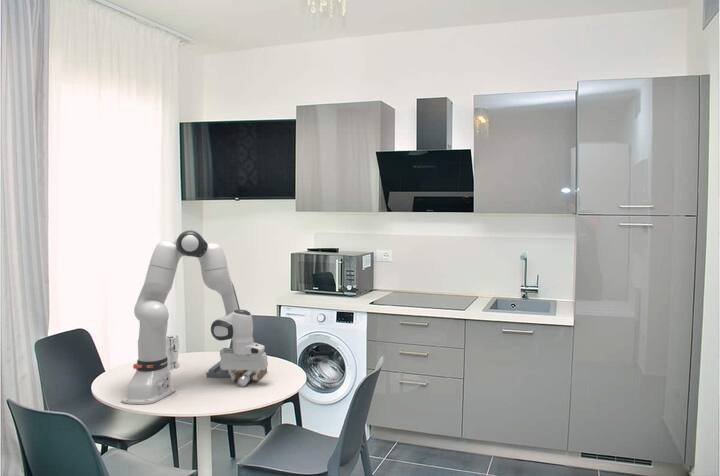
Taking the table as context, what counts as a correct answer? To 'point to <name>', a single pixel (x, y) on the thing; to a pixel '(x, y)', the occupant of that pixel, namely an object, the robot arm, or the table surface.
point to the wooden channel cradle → (259, 376)
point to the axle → (244, 378)
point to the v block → (218, 372)
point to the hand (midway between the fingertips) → (244, 379)
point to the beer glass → (172, 351)
